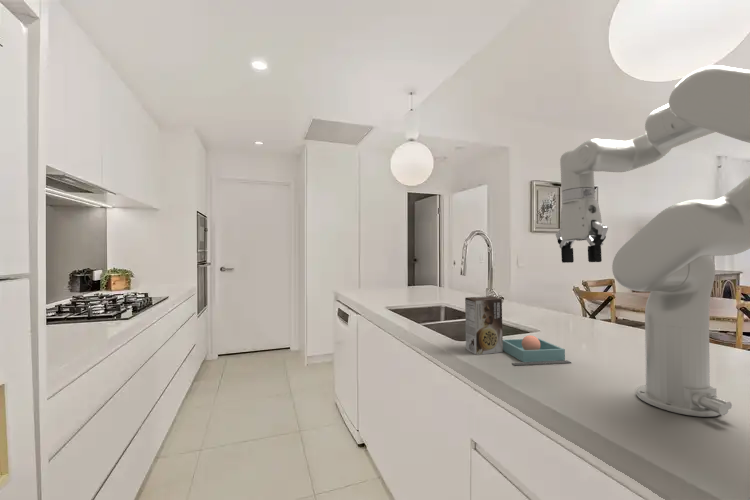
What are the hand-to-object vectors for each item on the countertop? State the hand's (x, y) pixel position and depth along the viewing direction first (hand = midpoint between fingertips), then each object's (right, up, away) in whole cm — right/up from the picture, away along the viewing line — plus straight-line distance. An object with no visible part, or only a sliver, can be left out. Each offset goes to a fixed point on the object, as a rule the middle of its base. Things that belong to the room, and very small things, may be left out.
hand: (580, 262), depth 90 cm
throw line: (-9, -27, +2) cm, 29 cm away
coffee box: (-21, -28, +14) cm, 37 cm away
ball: (-9, -24, +10) cm, 28 cm away
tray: (-8, -27, +10) cm, 30 cm away
